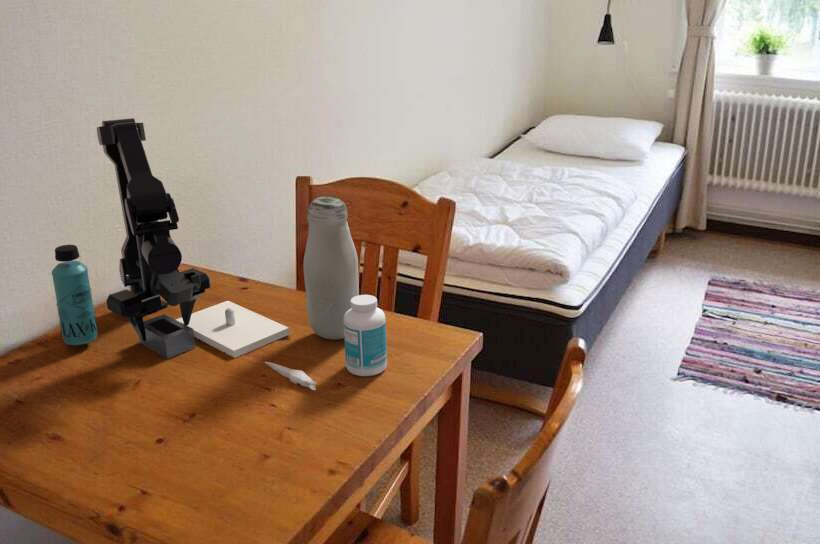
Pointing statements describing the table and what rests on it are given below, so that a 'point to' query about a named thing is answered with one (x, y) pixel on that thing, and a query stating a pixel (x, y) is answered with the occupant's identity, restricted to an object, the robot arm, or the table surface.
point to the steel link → (168, 336)
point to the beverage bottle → (73, 297)
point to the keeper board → (234, 328)
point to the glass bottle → (329, 267)
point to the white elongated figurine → (294, 375)
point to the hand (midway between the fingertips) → (165, 332)
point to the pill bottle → (365, 337)
